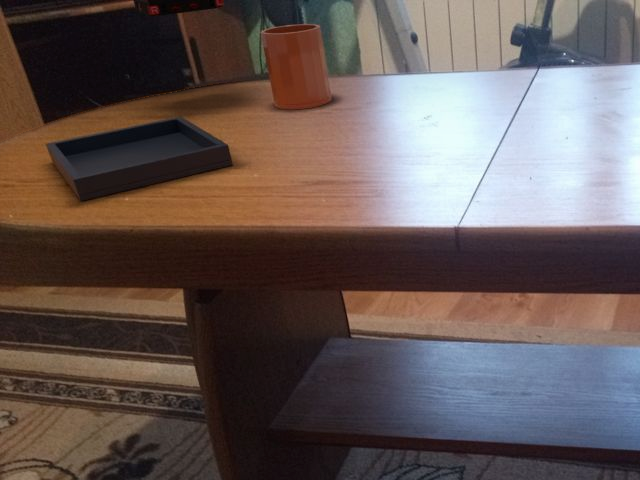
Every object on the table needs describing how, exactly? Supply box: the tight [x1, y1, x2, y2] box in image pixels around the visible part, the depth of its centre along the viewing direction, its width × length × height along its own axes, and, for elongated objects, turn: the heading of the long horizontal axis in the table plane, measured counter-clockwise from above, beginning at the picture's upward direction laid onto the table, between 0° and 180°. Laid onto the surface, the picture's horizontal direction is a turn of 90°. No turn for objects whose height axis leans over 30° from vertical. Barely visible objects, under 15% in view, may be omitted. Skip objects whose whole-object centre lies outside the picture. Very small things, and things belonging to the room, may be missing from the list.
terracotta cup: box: [260, 23, 333, 110], centre depth 94 cm, size 7×7×9 cm
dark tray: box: [45, 116, 233, 202], centre depth 77 cm, size 17×15×2 cm
